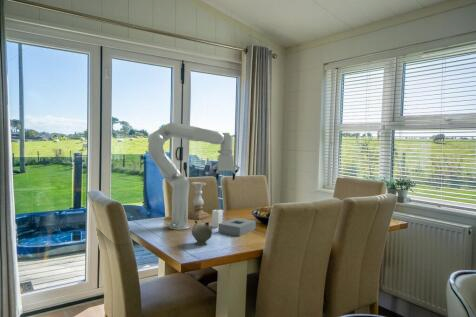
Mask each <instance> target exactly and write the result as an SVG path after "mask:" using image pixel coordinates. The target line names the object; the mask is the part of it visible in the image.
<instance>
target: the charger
mask: <svg viewBox="0 0 476 317" xmlns="http://www.w3.org/2000/svg"><path fill="white" fill-rule="evenodd" d="M211 214H212V215H211V228H214V229H215V228H216V229H218V228H219V224H220V223H222V222H223V210H220V209H213V210H211Z"/></svg>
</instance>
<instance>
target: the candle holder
mask: <svg viewBox="0 0 476 317" xmlns="http://www.w3.org/2000/svg"><path fill="white" fill-rule="evenodd" d="M190 184H191V185H192V186H194V187H195V191H194V193H195V197H194V198H193V200H192V204H193V205H194V206H193V210H192V211H191V212H188V219H191V220H195V221H201V220H205V219H208V218H210V214H208V212H206V211H204V210H203V209H204V208H203V205H204V199H203V197H202V194H203V190H202V188H203V186H206V185H207V182H203V181H192V182H191V183H190Z"/></svg>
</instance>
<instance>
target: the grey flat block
mask: <svg viewBox="0 0 476 317" xmlns="http://www.w3.org/2000/svg"><path fill="white" fill-rule="evenodd" d="M256 223H257V221H256V220H253V219H252V220H251V219H246V218H239V217H234V218H232V219H228V220H226V221H222V223H220V224H219V228H217V229H218V233H220V234H224V235H231V236H235V237H241V236H243V235H245V234H247V233H250V232H252V231H255V230H256Z"/></svg>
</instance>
